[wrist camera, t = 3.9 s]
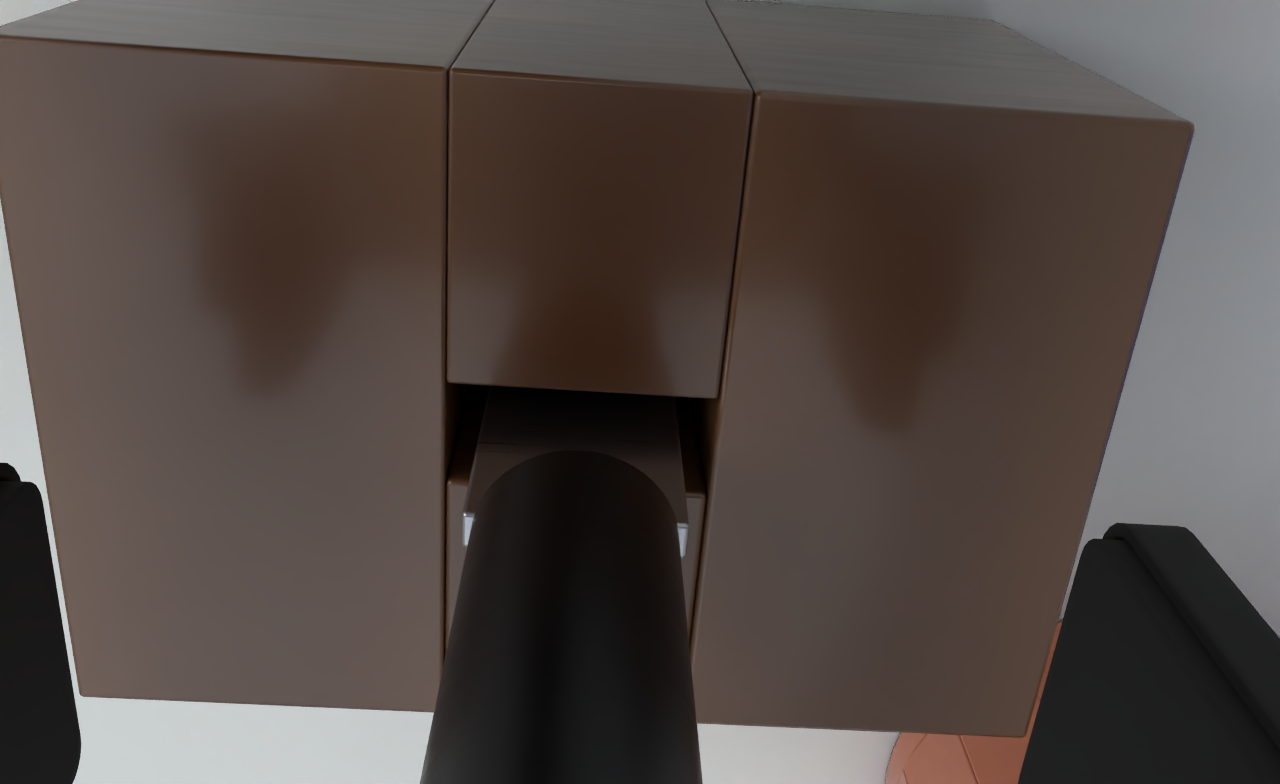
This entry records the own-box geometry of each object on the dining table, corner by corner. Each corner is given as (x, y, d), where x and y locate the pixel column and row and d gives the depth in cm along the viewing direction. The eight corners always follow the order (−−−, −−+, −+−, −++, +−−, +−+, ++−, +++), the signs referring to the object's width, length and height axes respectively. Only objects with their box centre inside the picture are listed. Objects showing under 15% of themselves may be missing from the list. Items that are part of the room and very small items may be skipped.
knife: (661, 188, 19) (796, 1152, 5) (651, 303, 20) (743, 1397, 6) (525, 179, 19) (293, 1138, 5) (521, 294, 20) (312, 1391, 6)
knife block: (995, 19, 18) (1200, 123, 12) (906, 473, 22) (1028, 741, 15) (201, -43, 18) (-29, 33, 11) (238, 436, 21) (78, 698, 15)
